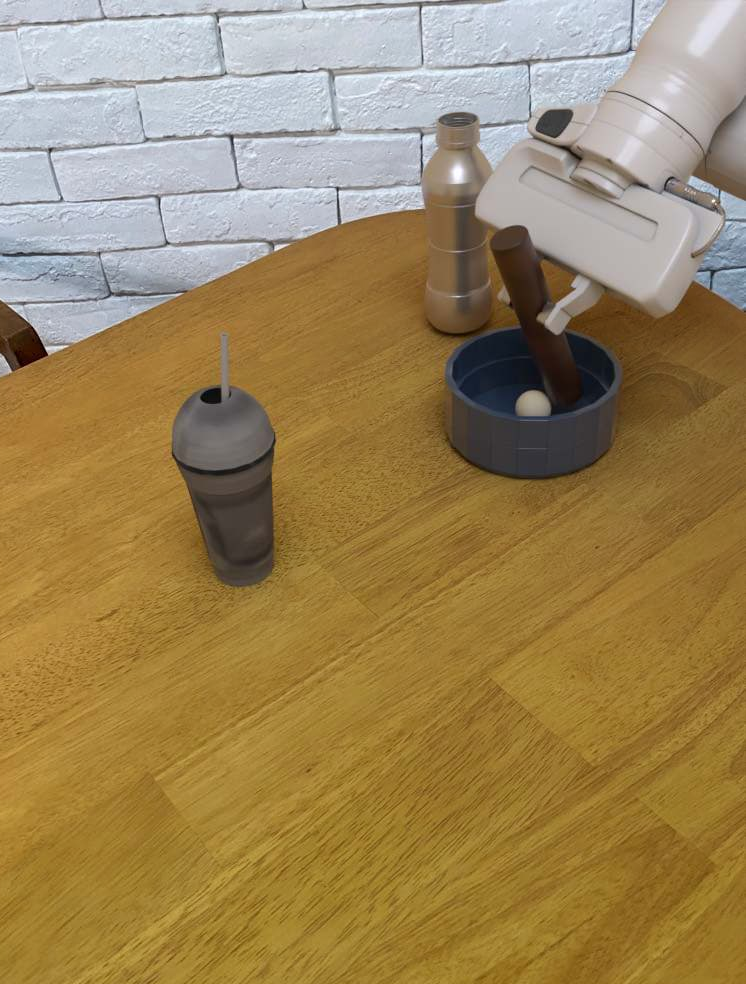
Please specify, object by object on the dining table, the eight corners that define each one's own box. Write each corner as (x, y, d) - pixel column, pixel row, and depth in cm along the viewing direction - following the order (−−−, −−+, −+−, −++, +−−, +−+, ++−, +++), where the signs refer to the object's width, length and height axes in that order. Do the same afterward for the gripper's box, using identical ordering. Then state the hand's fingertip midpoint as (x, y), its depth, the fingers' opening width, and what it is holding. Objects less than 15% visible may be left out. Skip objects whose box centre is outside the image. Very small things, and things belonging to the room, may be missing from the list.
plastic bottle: (506, 325, 109) (513, 119, 96) (451, 350, 106) (450, 141, 93) (464, 300, 113) (465, 99, 100) (410, 323, 110) (403, 119, 97)
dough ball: (539, 414, 97) (547, 383, 95) (552, 432, 95) (560, 401, 93) (507, 415, 96) (513, 384, 95) (519, 433, 94) (526, 402, 92)
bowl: (579, 372, 102) (584, 313, 98) (642, 464, 91) (650, 402, 87) (427, 398, 100) (426, 340, 97) (472, 495, 90) (473, 433, 86)
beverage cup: (202, 535, 88) (158, 309, 75) (294, 532, 88) (266, 304, 75) (189, 600, 83) (140, 368, 70) (288, 598, 82) (257, 364, 69)
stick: (582, 377, 95) (526, 219, 84) (586, 400, 93) (529, 241, 82) (547, 388, 96) (487, 233, 85) (551, 411, 93) (490, 255, 83)
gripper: (754, 225, 81) (640, 388, 84) (560, 143, 94) (467, 285, 97) (720, 183, 76) (601, 356, 79) (521, 103, 90) (425, 254, 92)
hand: (526, 317), depth 88 cm, fingers closed on stick, 3 cm apart
